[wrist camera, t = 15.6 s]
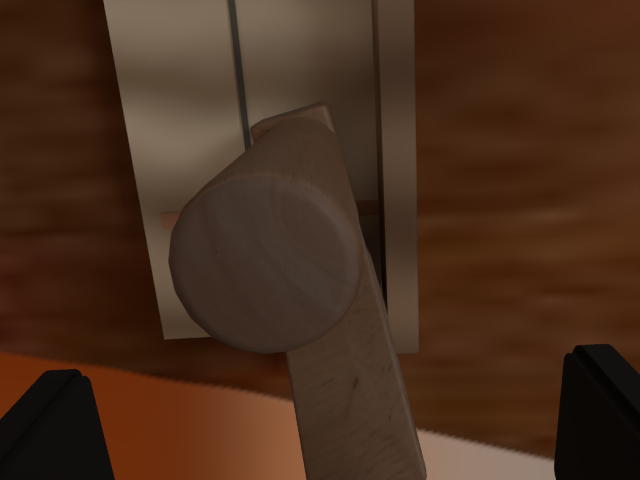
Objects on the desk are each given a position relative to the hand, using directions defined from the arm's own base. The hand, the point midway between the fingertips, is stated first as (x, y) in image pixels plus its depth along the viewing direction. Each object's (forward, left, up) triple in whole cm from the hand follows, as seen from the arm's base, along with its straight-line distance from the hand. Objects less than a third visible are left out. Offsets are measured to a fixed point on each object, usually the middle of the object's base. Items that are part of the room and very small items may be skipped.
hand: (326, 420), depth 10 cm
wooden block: (0, 0, -18) cm, 18 cm away
